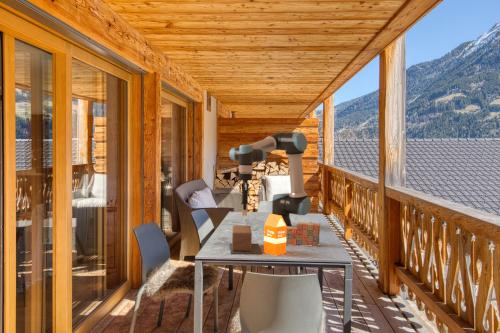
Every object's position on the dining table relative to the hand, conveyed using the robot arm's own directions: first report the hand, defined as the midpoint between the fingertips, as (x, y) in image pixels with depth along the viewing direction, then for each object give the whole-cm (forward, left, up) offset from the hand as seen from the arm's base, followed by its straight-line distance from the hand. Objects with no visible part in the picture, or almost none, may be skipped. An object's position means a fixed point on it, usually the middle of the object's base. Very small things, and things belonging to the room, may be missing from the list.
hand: (244, 215), depth 242 cm
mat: (0, +10, -17) cm, 19 cm away
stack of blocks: (-32, -3, -17) cm, 37 cm away
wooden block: (+1, -2, -11) cm, 11 cm away
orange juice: (-15, +17, -17) cm, 28 cm away
